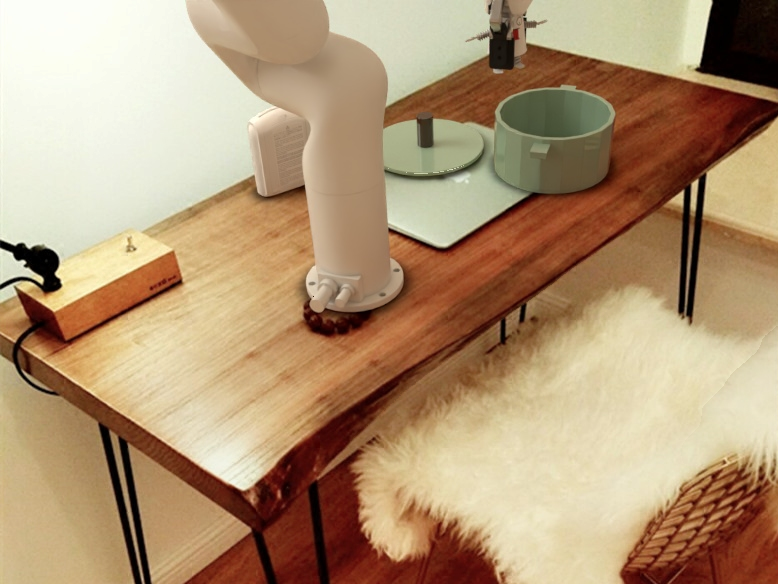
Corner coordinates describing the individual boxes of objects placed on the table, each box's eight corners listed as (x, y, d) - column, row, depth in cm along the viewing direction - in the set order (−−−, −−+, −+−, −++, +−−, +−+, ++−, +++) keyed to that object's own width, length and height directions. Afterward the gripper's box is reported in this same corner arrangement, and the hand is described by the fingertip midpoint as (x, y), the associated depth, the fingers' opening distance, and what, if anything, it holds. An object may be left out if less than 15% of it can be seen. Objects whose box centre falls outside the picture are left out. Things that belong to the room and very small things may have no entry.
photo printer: (311, 169, 141) (302, 92, 133) (325, 179, 139) (316, 101, 130) (252, 190, 137) (238, 112, 129) (265, 201, 135) (252, 122, 126)
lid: (496, 131, 148) (496, 95, 144) (466, 185, 135) (466, 148, 131) (390, 120, 153) (388, 85, 148) (351, 172, 140) (348, 135, 136)
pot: (619, 137, 144) (625, 85, 138) (595, 209, 128) (601, 154, 123) (513, 126, 149) (514, 76, 143) (477, 195, 133) (477, 141, 127)
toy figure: (477, 84, 118) (475, 17, 112) (458, 70, 122) (455, 4, 116) (558, 64, 121) (560, -3, 115) (536, 51, 125) (538, -14, 119)
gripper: (526, -69, 101) (520, 87, 113) (556, -111, 113) (549, 34, 125) (460, -71, 103) (462, 83, 115) (497, -113, 115) (495, 31, 127)
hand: (507, 56), depth 120 cm, fingers closed on toy figure, 6 cm apart
